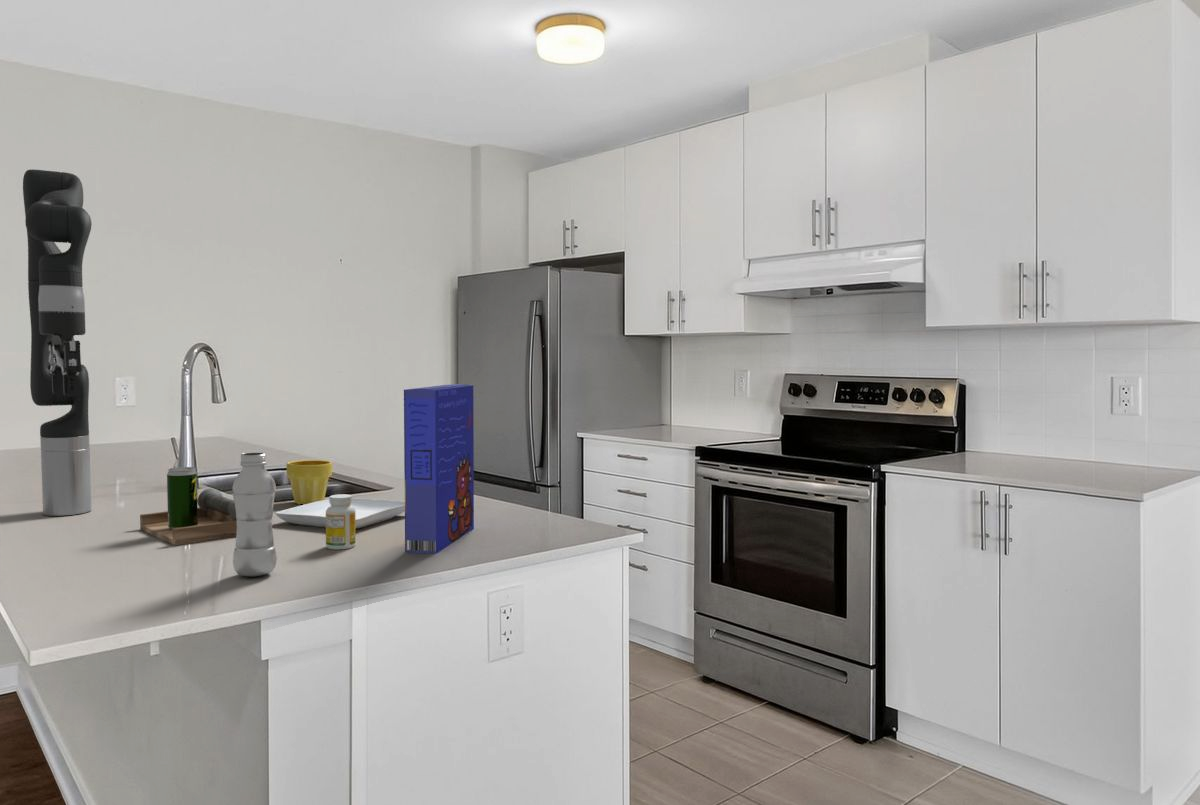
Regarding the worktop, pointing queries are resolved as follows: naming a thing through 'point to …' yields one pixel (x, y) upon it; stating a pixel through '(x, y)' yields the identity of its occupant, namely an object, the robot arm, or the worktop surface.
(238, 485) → the plastic bottle
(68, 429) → the robot arm
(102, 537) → the worktop surface
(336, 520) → the supplement bottle
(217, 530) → the bay
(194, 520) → the beer can
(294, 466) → the plant pot
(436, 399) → the cereal box
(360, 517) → the salad plate
